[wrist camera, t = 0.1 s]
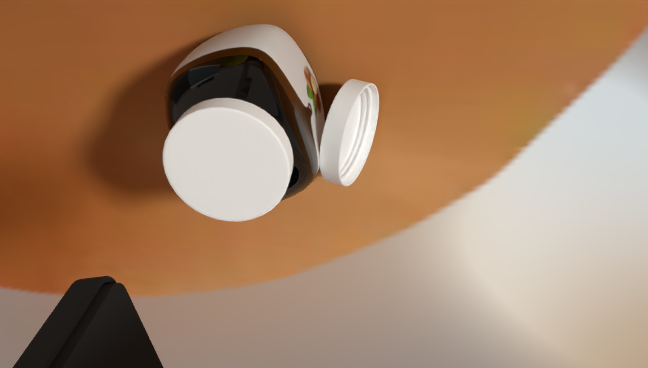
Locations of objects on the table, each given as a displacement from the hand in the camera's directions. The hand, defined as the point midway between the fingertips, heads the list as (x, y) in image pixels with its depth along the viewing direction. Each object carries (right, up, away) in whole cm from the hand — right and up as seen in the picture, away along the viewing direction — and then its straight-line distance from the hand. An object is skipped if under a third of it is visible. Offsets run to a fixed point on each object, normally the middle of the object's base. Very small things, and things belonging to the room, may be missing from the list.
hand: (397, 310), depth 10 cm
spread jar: (-3, +9, +32) cm, 33 cm away
